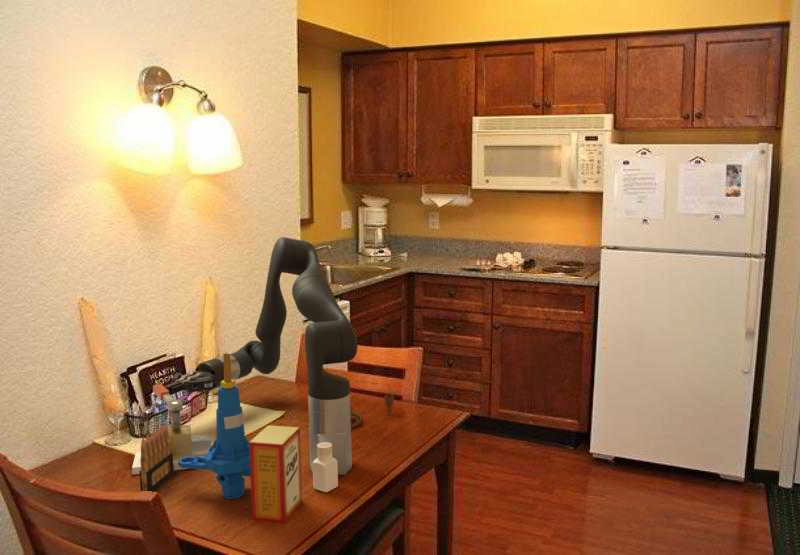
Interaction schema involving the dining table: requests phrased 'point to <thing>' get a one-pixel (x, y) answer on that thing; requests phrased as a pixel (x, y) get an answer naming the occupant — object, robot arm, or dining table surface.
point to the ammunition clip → (156, 460)
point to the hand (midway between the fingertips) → (166, 390)
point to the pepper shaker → (325, 468)
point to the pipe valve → (186, 439)
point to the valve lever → (167, 398)
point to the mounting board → (137, 464)
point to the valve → (226, 441)
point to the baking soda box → (275, 473)
